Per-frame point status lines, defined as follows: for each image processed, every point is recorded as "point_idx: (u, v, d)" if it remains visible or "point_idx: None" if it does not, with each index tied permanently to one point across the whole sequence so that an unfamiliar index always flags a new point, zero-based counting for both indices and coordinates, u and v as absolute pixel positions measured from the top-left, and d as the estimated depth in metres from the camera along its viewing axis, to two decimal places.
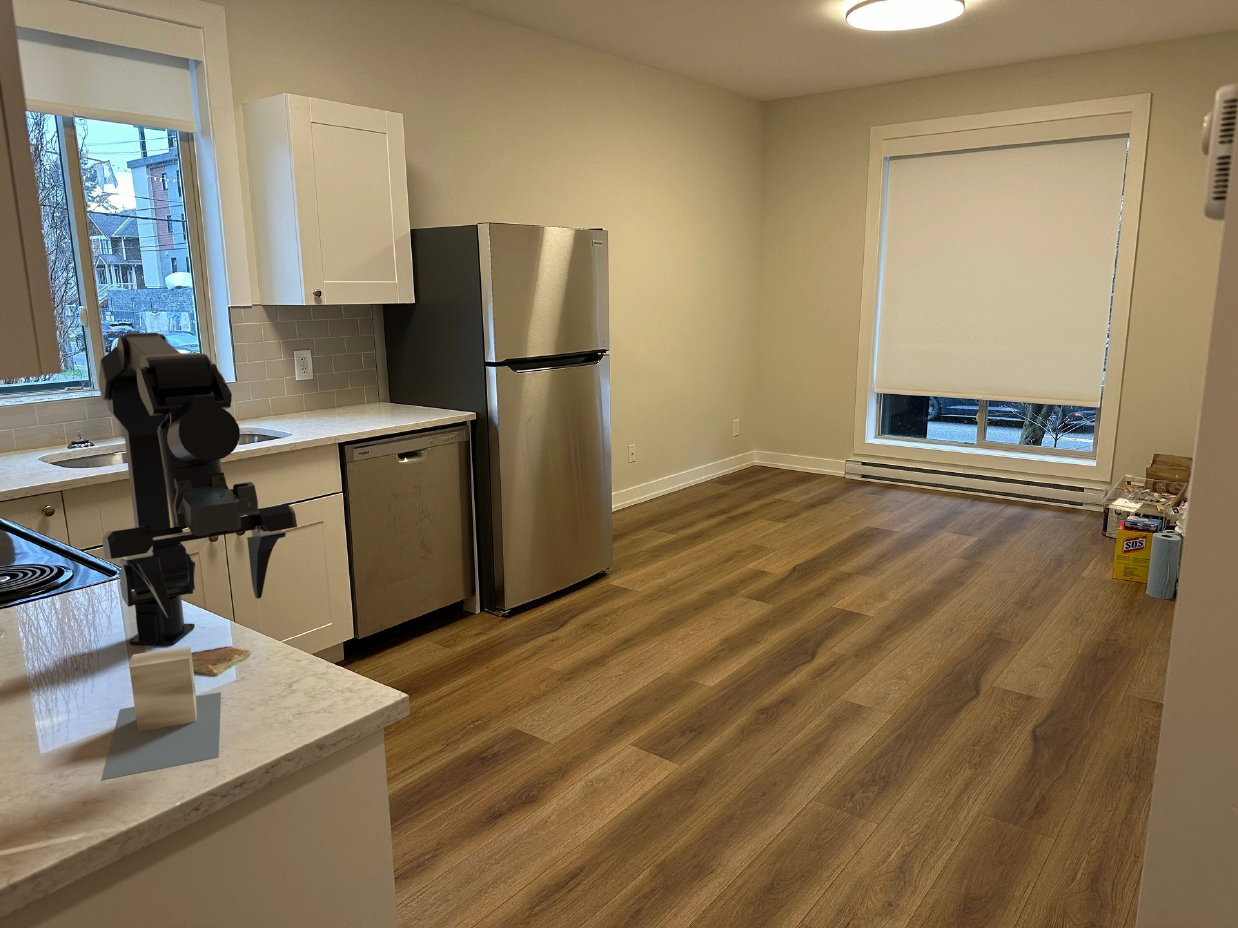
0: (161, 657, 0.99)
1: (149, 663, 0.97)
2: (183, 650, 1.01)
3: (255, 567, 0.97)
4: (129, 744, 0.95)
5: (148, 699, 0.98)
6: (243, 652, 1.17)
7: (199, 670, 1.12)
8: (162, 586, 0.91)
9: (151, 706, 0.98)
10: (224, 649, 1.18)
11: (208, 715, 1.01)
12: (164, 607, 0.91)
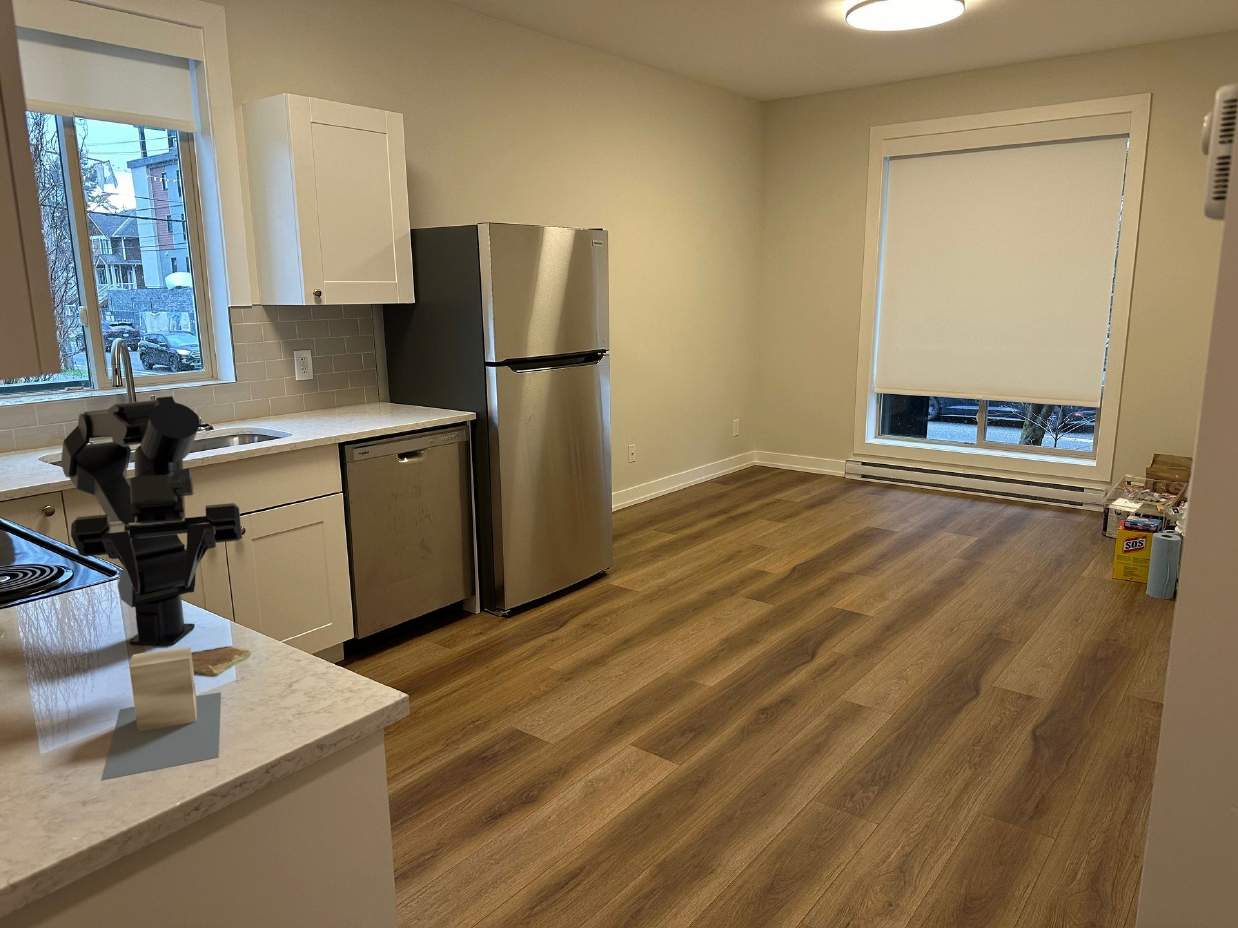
0: (161, 657, 0.99)
1: (149, 663, 0.97)
2: (183, 650, 1.01)
3: None
4: (129, 744, 0.95)
5: (148, 699, 0.98)
6: (243, 652, 1.17)
7: (199, 670, 1.12)
8: (131, 562, 1.05)
9: (151, 706, 0.98)
10: (224, 649, 1.18)
11: (208, 715, 1.01)
12: (132, 581, 1.04)
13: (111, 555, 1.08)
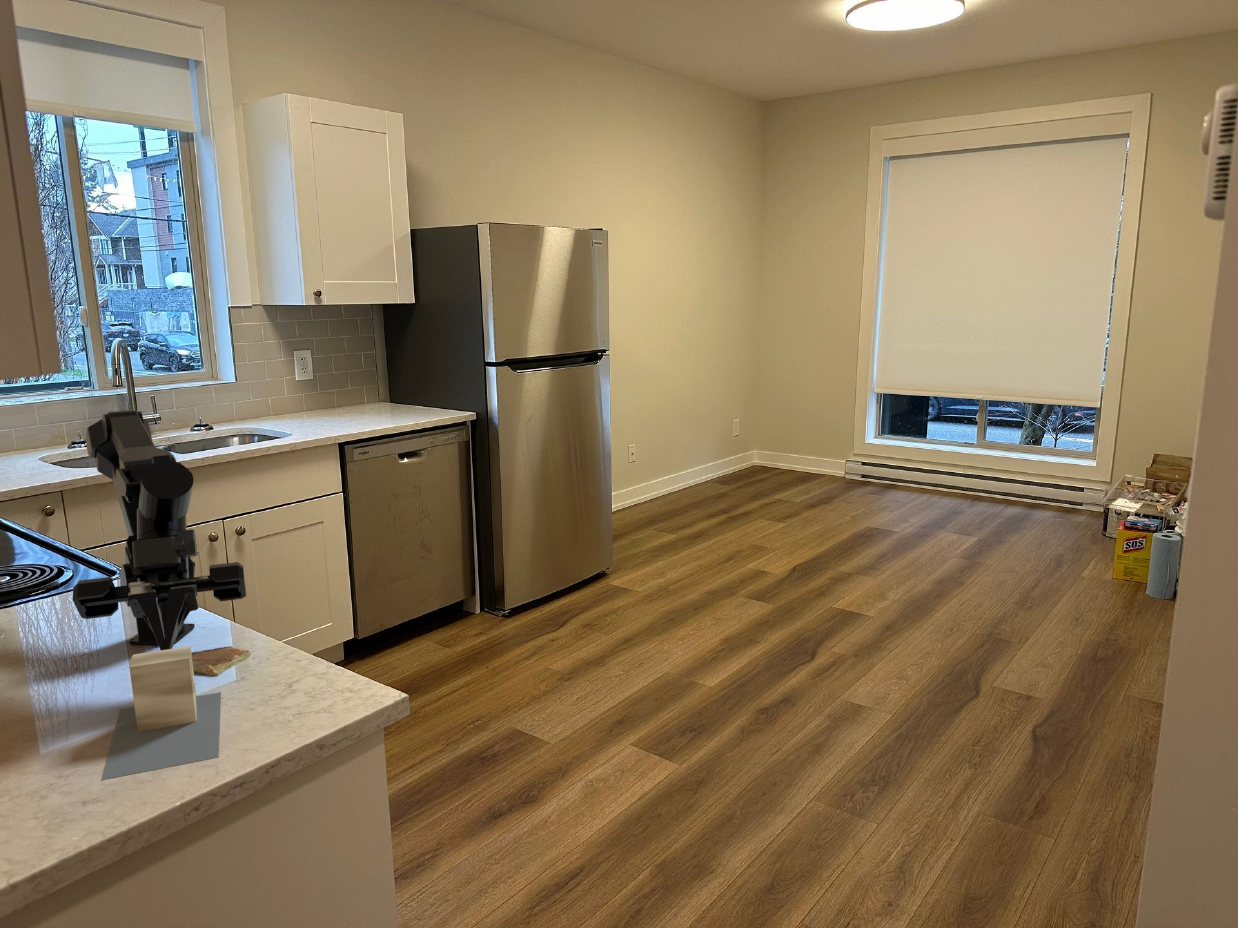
0: (161, 657, 0.99)
1: (149, 663, 0.97)
2: (183, 650, 1.01)
3: None
4: (129, 744, 0.95)
5: (148, 699, 0.98)
6: (243, 652, 1.17)
7: (199, 670, 1.12)
8: (158, 623, 1.04)
9: (151, 706, 0.98)
10: (224, 649, 1.18)
11: (208, 715, 1.01)
12: (158, 642, 1.03)
13: (137, 614, 1.07)
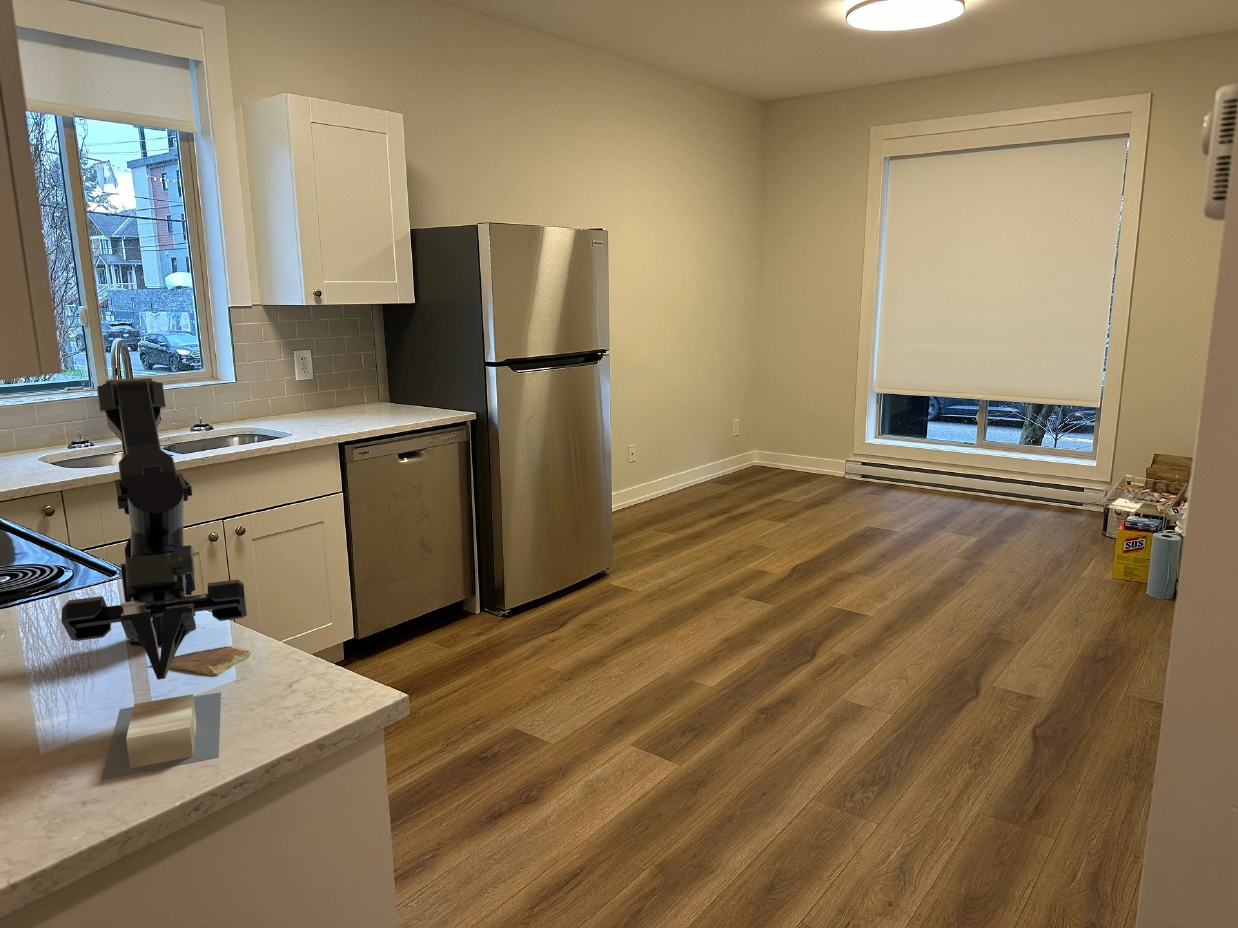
0: (161, 750, 0.92)
1: (150, 762, 0.91)
2: (183, 736, 0.92)
3: None
4: None
5: None
6: (243, 652, 1.16)
7: (199, 670, 1.12)
8: (153, 645, 0.98)
9: None
10: (224, 649, 1.18)
11: (208, 715, 1.01)
12: (153, 666, 0.97)
13: (131, 635, 1.00)
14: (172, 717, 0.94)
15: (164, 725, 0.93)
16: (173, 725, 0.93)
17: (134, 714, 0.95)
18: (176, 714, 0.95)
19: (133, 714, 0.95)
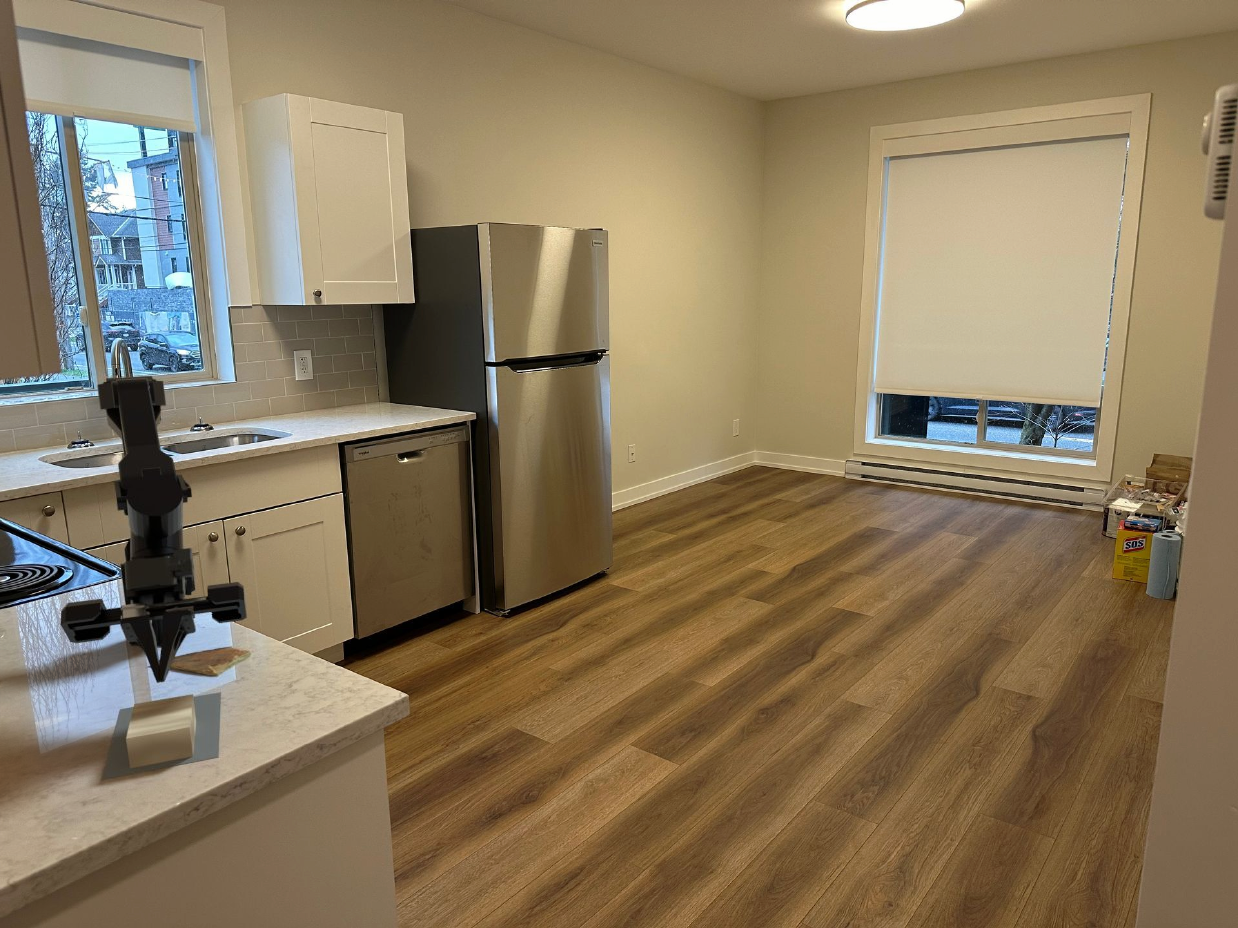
0: (161, 750, 0.92)
1: (150, 762, 0.91)
2: (183, 736, 0.92)
3: None
4: None
5: None
6: (243, 652, 1.16)
7: (199, 671, 1.12)
8: (152, 648, 0.97)
9: None
10: (224, 649, 1.18)
11: (208, 715, 1.01)
12: (152, 669, 0.97)
13: (130, 638, 1.00)
14: (172, 717, 0.94)
15: (164, 725, 0.93)
16: (173, 725, 0.93)
17: (134, 714, 0.95)
18: (176, 714, 0.95)
19: (133, 714, 0.95)
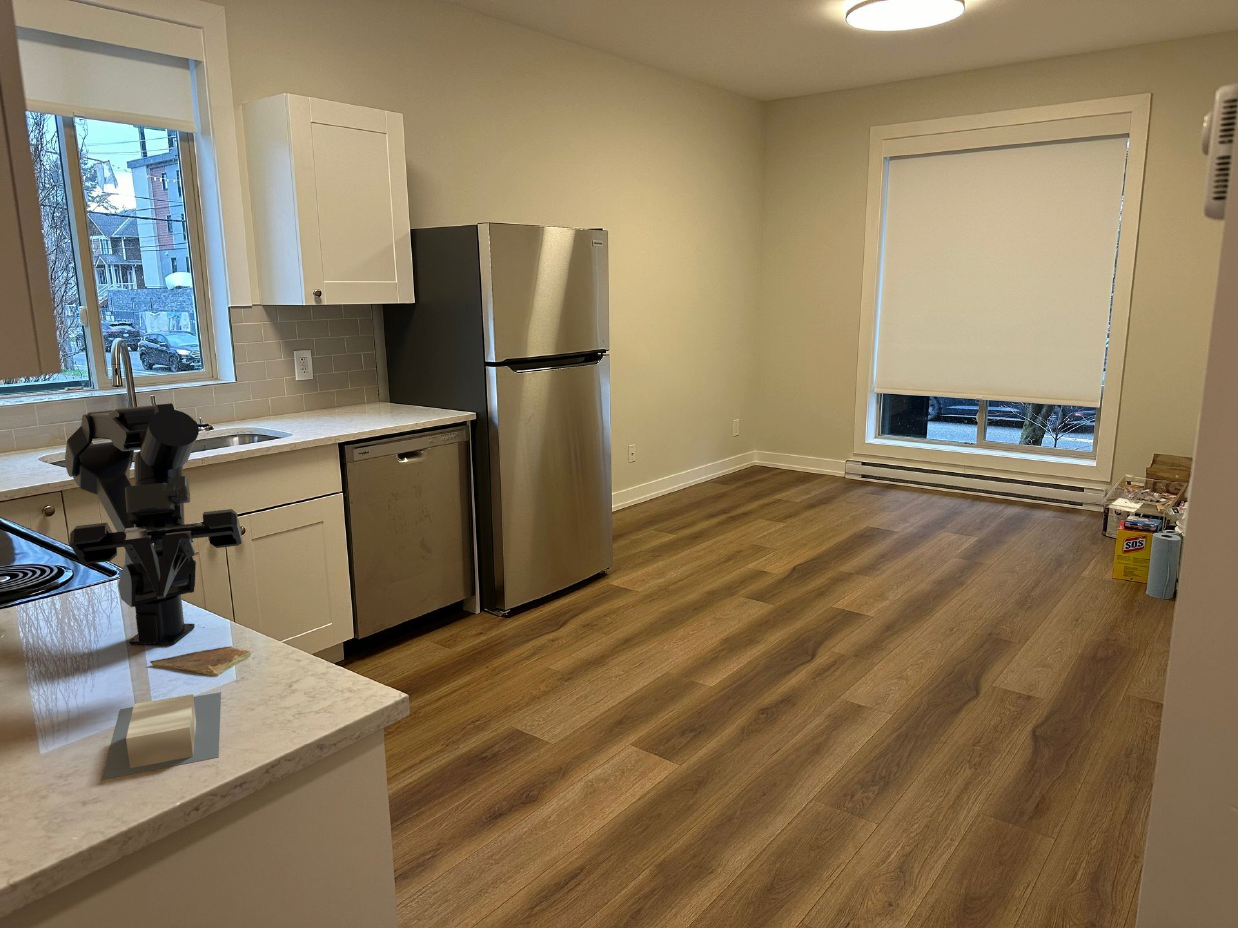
0: (161, 750, 0.92)
1: (150, 762, 0.91)
2: (183, 736, 0.92)
3: None
4: None
5: None
6: (243, 652, 1.16)
7: (199, 671, 1.12)
8: (153, 568, 1.06)
9: None
10: (224, 649, 1.18)
11: (208, 715, 1.01)
12: (153, 586, 1.05)
13: (134, 559, 1.09)
14: (172, 717, 0.94)
15: (164, 725, 0.93)
16: (173, 725, 0.93)
17: (134, 714, 0.95)
18: (176, 714, 0.95)
19: (133, 714, 0.95)
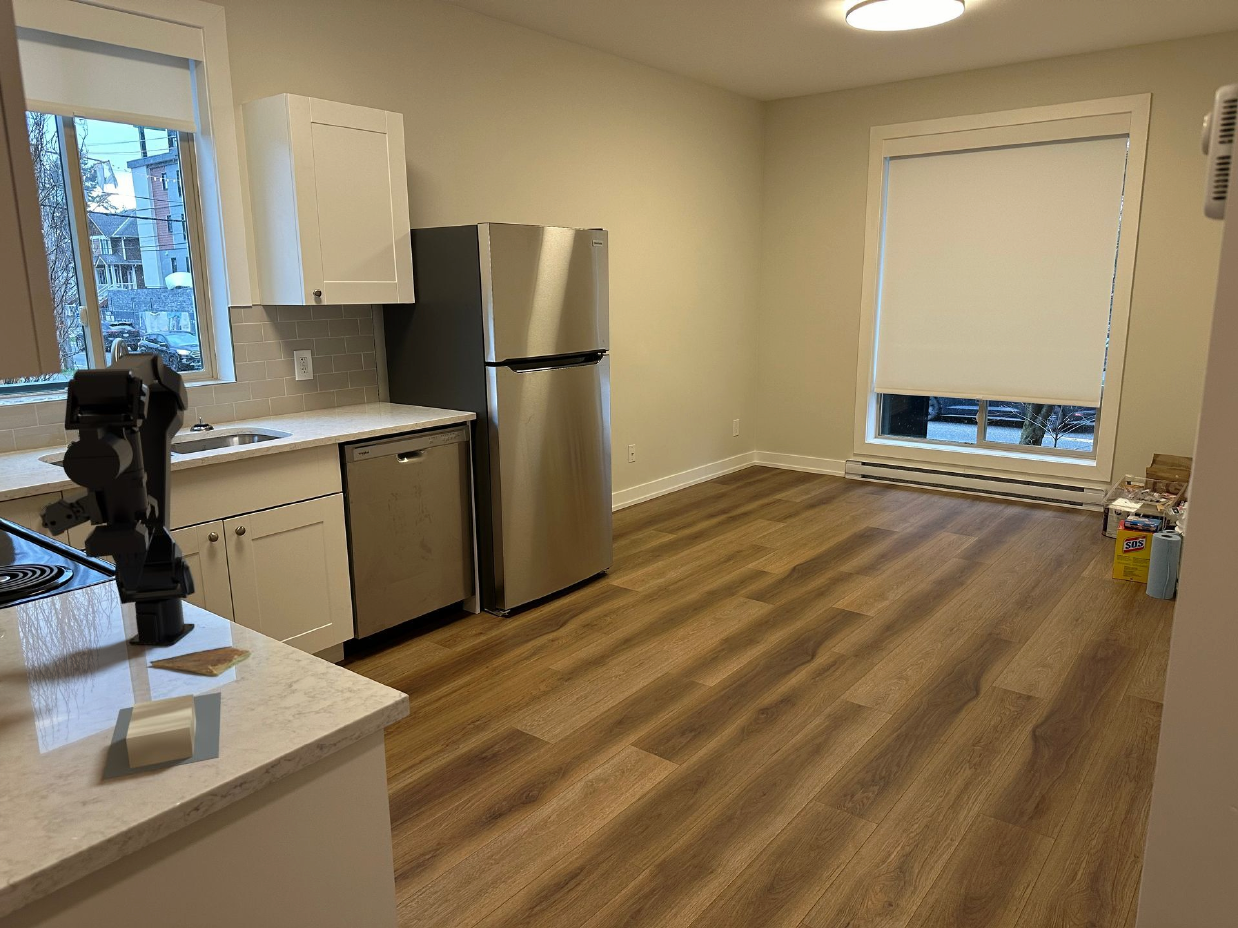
0: (161, 750, 0.92)
1: (150, 762, 0.91)
2: (183, 736, 0.92)
3: None
4: None
5: None
6: (243, 652, 1.16)
7: (199, 671, 1.12)
8: None
9: None
10: (224, 649, 1.18)
11: (208, 715, 1.01)
12: None
13: None
14: (172, 717, 0.94)
15: (164, 725, 0.93)
16: (173, 725, 0.93)
17: (134, 714, 0.95)
18: (176, 714, 0.95)
19: (133, 714, 0.95)
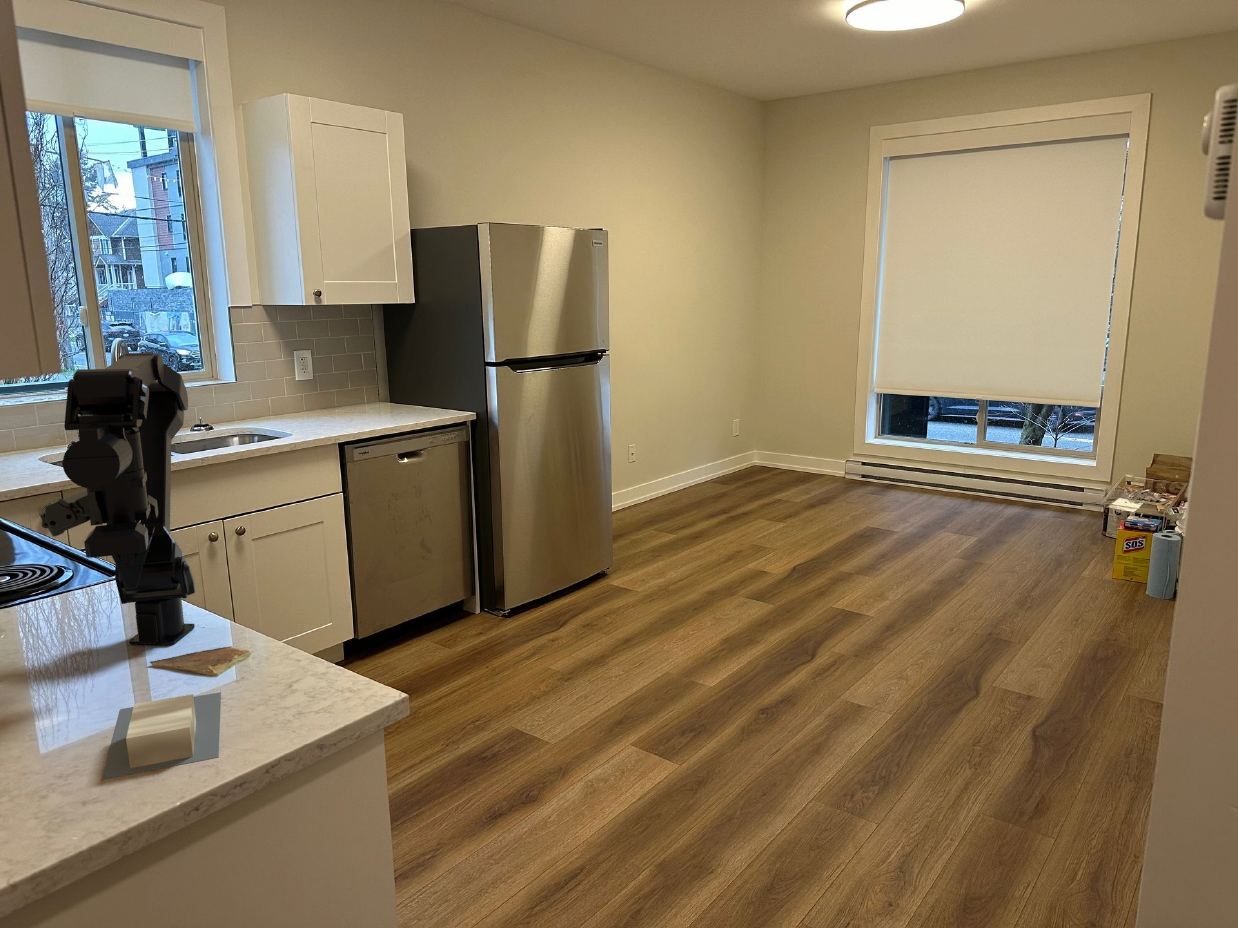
0: (161, 750, 0.92)
1: (150, 762, 0.91)
2: (183, 736, 0.92)
3: None
4: None
5: None
6: (243, 652, 1.16)
7: (199, 671, 1.12)
8: None
9: None
10: (224, 649, 1.18)
11: (208, 715, 1.01)
12: None
13: None
14: (172, 717, 0.94)
15: (164, 725, 0.93)
16: (173, 725, 0.93)
17: (134, 714, 0.95)
18: (176, 714, 0.95)
19: (133, 714, 0.95)
